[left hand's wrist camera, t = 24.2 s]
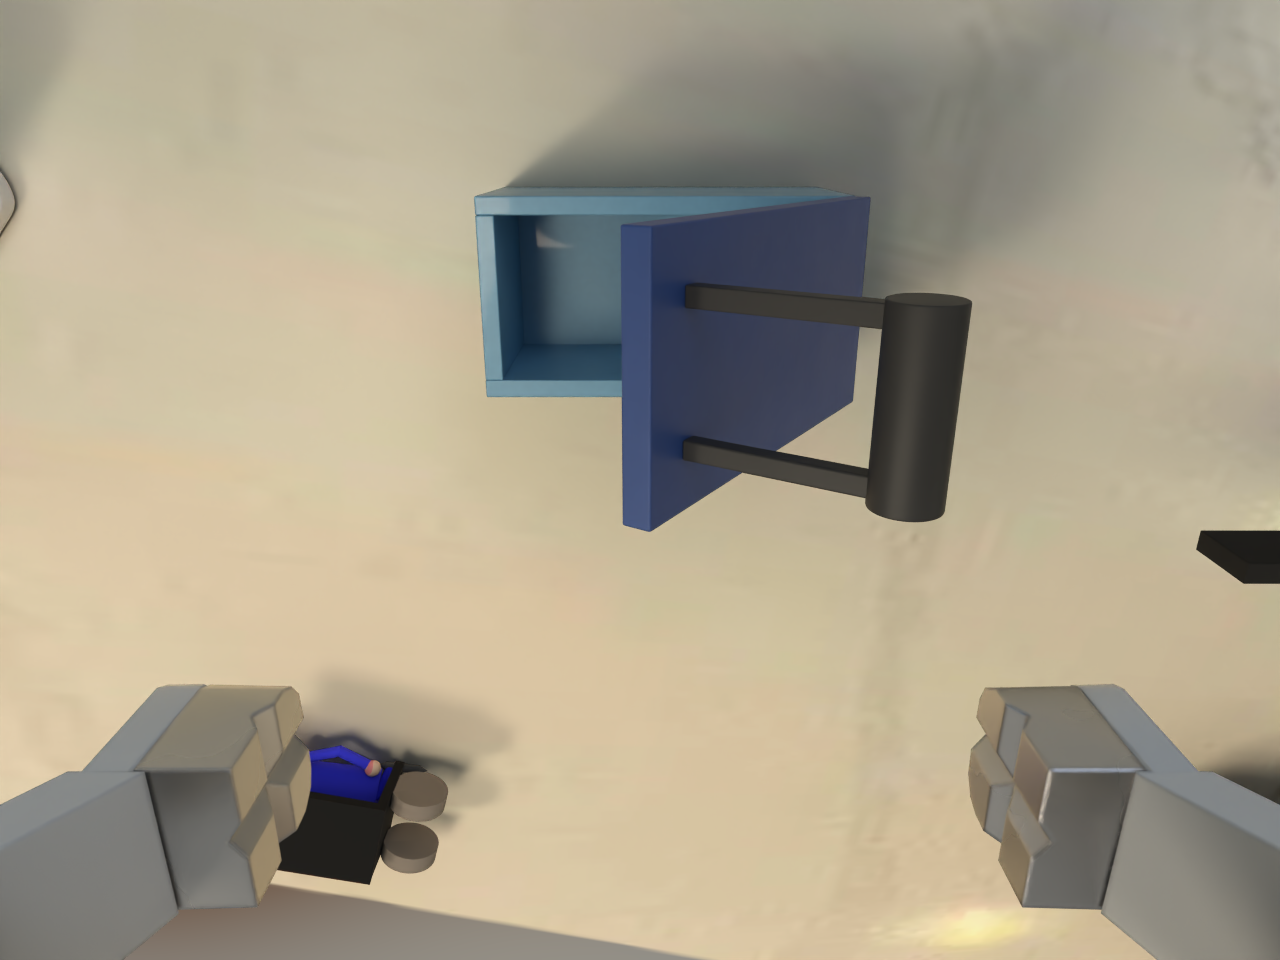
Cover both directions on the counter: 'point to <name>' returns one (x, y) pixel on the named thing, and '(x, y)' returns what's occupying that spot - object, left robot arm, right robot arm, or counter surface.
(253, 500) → the counter surface
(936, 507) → the lid
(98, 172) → the counter surface
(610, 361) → the chest
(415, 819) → the figurine character
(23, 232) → the counter surface
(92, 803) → the left robot arm
